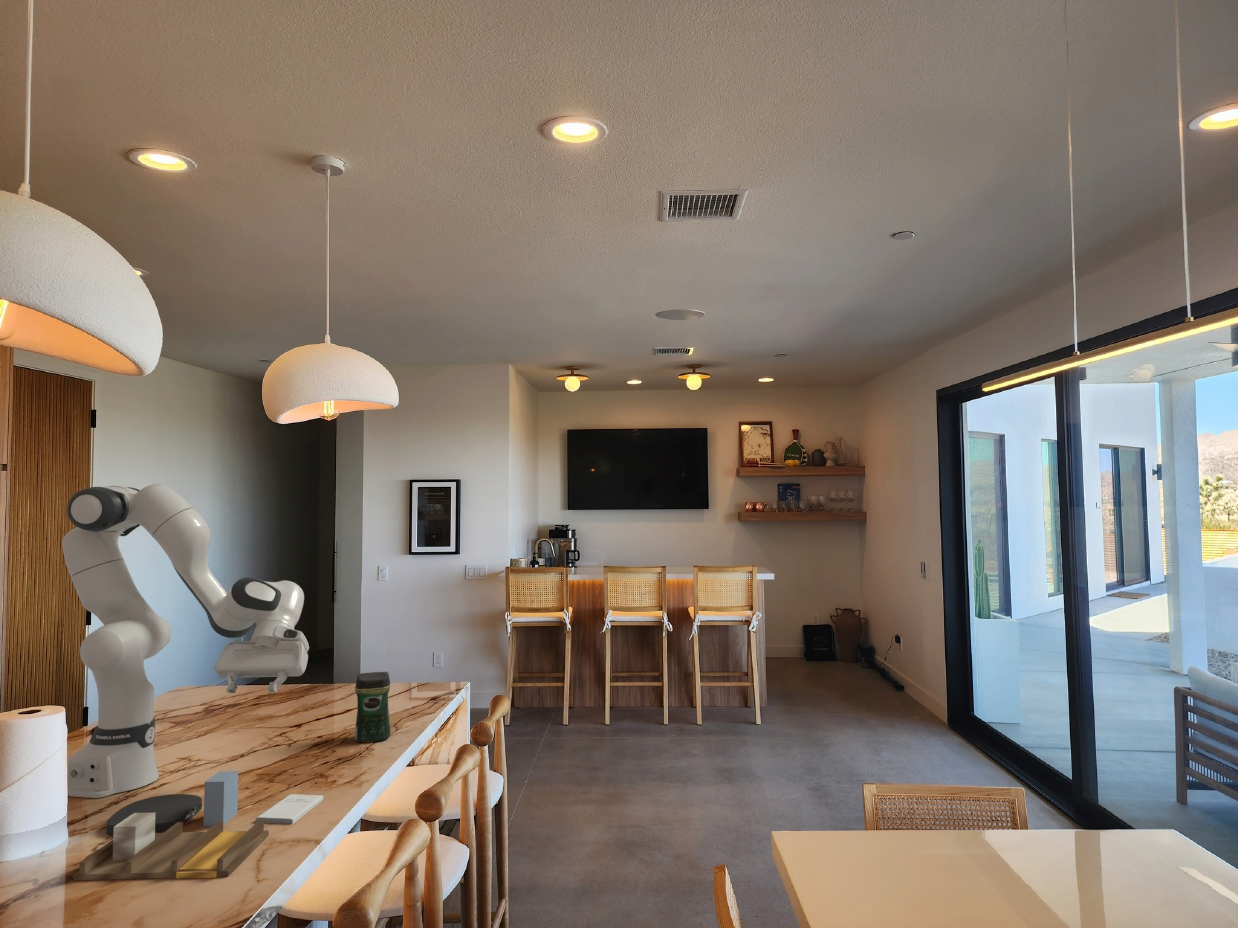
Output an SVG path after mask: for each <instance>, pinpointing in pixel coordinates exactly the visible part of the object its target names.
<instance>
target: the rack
mask: <svg viewBox="0 0 1238 928" xmlns="http://www.w3.org/2000/svg"><path fill="white" fill-rule="evenodd" d="M264 824H265V823H264V820H259V821H258V822H255V823H254V825H252V826H251V827H250V828H249V829H248V830H232V831H231V830H230V831H229V830H228V831H227V830H226V831H225V830H224V826H223V821H218V822H217V823H216V824H215V825H213V826H210V828H208V830H206V831H187V832H185V831H183V827H184V824H183V822H177V823H176V824H175V825H173V826H172V827H171V828H169V829H168V830H167V831H165V832H164V833H155V813H134V814H132V815H131V816H129V817H128V818H126V819H125V820H123V821H122V822H120V823H119V824H117V825H116V826H114V832H113V835H112V836H113V838H112V840H111V841H109V842H107V844H105V845H103V846H102V847H100V848H99V849H97V850H95V852H93V853H92V854H90V855H89V856H88V857H86V858H85V859H83V860H81V861H80V862H79V870H78V871H77V872H75V873H74V874H73V875H72V876H73V878H72V879H73V881H101V880H103V881H104V880H106V881H108V880H109V881H110V880H139V879H141V880H144V879H176V880H177V879H178V880H179V879H183V880H184V879H216V878H218V877H219V878H221V877H222V878H224V877H225V878H226V877H228V878H229V876H230V875H232V873H233V872H234V871H235V870H236V869H237V868H238V867H239V866H240V865H241V864H242V863H243V862H244V861H245V860H246V859H248V857H249V856H250V855H251V854H253V852H254V851H255V850H256V849H257V848H258V847H259V846H260V845H261V844H262V843H263V842H264V841H265V840H266V839H267V838H268V837H269V835H270V833H269V831H270V830H269V829H268V830H267V829H266V830H264V828H265V825H264Z"/></svg>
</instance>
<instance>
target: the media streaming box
mask: <svg viewBox="0 0 1238 928" xmlns="http://www.w3.org/2000/svg"><path fill="white" fill-rule="evenodd" d="M202 809H203V798H202V797H201V796H199V795H197V794H196V795H195V794H185V793H179V794H177V793H173V794H163V795H157V796H151V797H147V798H142V799H139V800H136V801H133V802H130V803H129V804H126V805H125V806H123V807H122V808H120V809H118V810H117V811H116V812H114V813H113V814H112V815H111V816H110V817H109V818H108V819H107V821H106V834H107V835H109V836H113V832H114V826H116V825H117V824H119V823H120V822H122V821H123V820H125V819H126V818H128V817H129V816H131V815H132V814H134V813H155V833H164V832H165V831H167V830H168V829H169V828H171V827H172V826H173V825H175V824H176V823H177V822H183V825H184V824H186V823H187V822H188V821H190V820H191V819H192V818H194V817H195V816H196V815H197V814H198V813H199V812H200V811H201V810H202Z"/></svg>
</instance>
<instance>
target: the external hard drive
mask: <svg viewBox="0 0 1238 928" xmlns="http://www.w3.org/2000/svg"><path fill="white" fill-rule="evenodd" d="M322 801H324V795H320V794H319V795H318V794H317V795H316V794H298V793H297V794H295V793H293V794H292V793H290V794H289V795H287V796H285V798H283V799H282V800H280V801H279V802H276V803H275V804H274V805H273V806H271V807H270V808H268V809H266V811H264V812H263V813H261V814H260V815H258V816H256V818H255V823H257V822H258V821H259V820H264V824H284V825H293V824H295V822H297V821H298V820H299V819H301V818H302V817H304V816H305V815H306V814H308V813H309V811H311V810H312V809H313V808H315V807H316V806H317V805H319V804H320V803H321V802H322Z"/></svg>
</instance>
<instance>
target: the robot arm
mask: <svg viewBox="0 0 1238 928" xmlns="http://www.w3.org/2000/svg"><path fill="white" fill-rule="evenodd" d="M66 513H67V518H68V519H69V521H70V523H72V524H73V525H74V526H75V527H74V528H73V529H71V530H70V531H68V532H67V533H66V534H65V535H64V537H63V538H62V541H61V544H62V553H63V556H64V560H65V561H64V562H65V565H66V568H67V571H68V573H69V577H70V579H71V582H72V584H73V586H74V589H75V590H76V593H77V596H78V597H79V600H80V603H81V606H82V607H83V608H84V609H85V610H86V611H88V612H90V613H91V614H93V615H94V616H95V617H97V618H98V620H99V621H100V622H101V624H102V626H100V627H98V628H97V629H95V630H94V631H92V632H91V633H90V634H88V635H87V636H86V637H85V638H84V639H83V640H82V643H81V645H80V649H79V656H80V660H81V662H82V664H84V666H85V667H86V668H88V669H90V671H91V673H92V676H93V678H94V681H95V684H96V689H97V695H98V702H97V704H98V705H97V706H98V709H97V710H98V711H97V713H98V714H97V717H98V718H97V725H95V727H92V728H91V729H89V730H87V731H85V733H86V734H85V737H86V738H87V737H88V736H91V737H90V738H89V741H88V743H87V744H85V745H84V746H83V747H81V748H80V749H79V750H77V751H76V752H75V753H74V754H72V755H71V756H69V758H67V759H68V795H69V796H68V797H74V798H75V797H77V798H90V799H91V798H92V799H94V798H95V799H100V798H105V797H108V796H111V795H114V794H118V793H122V792H127V791H132V790H135V789H139V788H142V787H145V786H147V785H149V784H151V783H153V782H155V781H157V780H158V779H159V777H160V773H159V771H158V766H157V762H156V756H155V748H154V747H155V746H154V745H155V744H154V742H155V735H156V719H155V717H154V702H155V701H154V700H155V688H154V687H155V686H154V685H153V684H152V683H151V682H150V681H149V680H148V677H147V675H146V674H147V673H146V671H145V665H144V661H145V660H147V659H150V658H152V657H154V656H156V655H157V654H158V653H160V652H161V651H162V650H163V649H164V648H165V647H166V646H167V645H168V644H169V642H170V641H171V637H172V628H171V625H170V623H169V622H168V621H167V620H166V619H165V618H163V617H162V616H160V615H159V614H157V613H156V612H155V611H154V609H153V608H152V607H151V606H150V605H149V602H147V601H146V599H145V598H144V597H143V596H142V594H141V593H140V591H139V590H138V588H137V586H136V585H135V582H134V579H133V577H132V575H131V574H130V573H131V572H130V571H129V569H128V566H127V564H126V561H125V560H124V557H123V554H122V552H121V550H120V547H119V538H120V537H126V536H128V535H129V534H130V533H132V532H133V531H134V530H136V529H138V528H139V527H140V526H141V527H142V528H144V529H145V531H146V532H148V534H149V535H150V536H151V537H152V538H153V539H154V540H155V541H156V542H157V544H159V546H160V548H162V550H163V551H164V552H165V554H166V555H167V557H168V558H169V560H170V561H171V564H172V566H173V568H174V570H175V572H176V573H177V575H178V576H179V578H180V579H181V581H182V583H184V585H185V587H186V588H187V589H188V590H189V591H190V592H191V594H192V595H193V597H194V598H195V599H196V601H197V602H198V603H199V604H200V606H201V607H202V609H203V610H204V612H205V613H206V616H207V619H208V622H209V625H210V627H211V628H212V630H213V631H214V632H215V633H216V634H218V635H219V636H222V637H225V638H229V639H236V638H241V637H244V636H246V635H247V634H249V632H251V629H252V628H253V627H254V625H255V624H256V626H255V628H254V630H253V634H252V635H251V638H250V640H233V641H232V642H231V643H228V644H226V645H225V646H224V648H223V650H222V652H221V654H220V656H219V657H218V659H217V661H216V663H215V665H214V671H215V673H216V675H217V676H218V677H219V678H221V679H227V686H226V688H225V690H226V692H227V694H235V693H236V691H237V689H238V686H237V684H236V682H235V681H237V679H238V678H274V677H276V678H275V680H273V681H270V682H269V685H268V687H267V691H268V692H269V693H277V692H278V690H279V687H280V686H281V685H282V684H283V683H285V681H287V678H288V677H301V676H302V675H303V674H304V673H305V671H306V669H307V665H308V662H309V661H308V660H309V653H308V652H309V649H310V646H309V642H308V640H307V638H306V636H305V635H304V633H303V631H301V630H297V629H295V626H296V625H297V624H298V622H299V620H300V617H301V614H302V611H303V607H304V604H305V603H304V601H305V593H304V591H303V589H302V588H301V587H300V585H299V584H297V583H296V582H295V581H294V582H293V581H290V580H285V579H284V580H279V581H265V580H262V579H260V578H257V577H252V576H251V577H249V576H248V577H242V578H240V579H238V580H237V581H235V583H234V584H233V585H232V586H231V587H230V588H229V590H228V591H226V590H225V588H224V587H223V586H222V584H221V583H220V582H219V581H218V580H217V578H216V576H215V575H214V574H213V573H212V571H211V570H210V569H211V568H210V567H209V563H208V552H209V551H208V550H209V544H210V540H211V530H210V527H209V525H208V524H207V521H206V519H204V517H203V516H202V515H201V514H200V513H199V512H198V510H196V508H194V506H193V505H191V504H190V503H189V502H188V501H187V500H186V499H185V498H184V497H183V496H182V495H181V494H180V493H178V492H177V491H176V490H174V489H172V487H169V485H166V484H164V483H153V484H149V485H147V486H144V487H143V488H141V489H138V488H136V487H132V486H131V487H130V486H128V487H126V486H120V485H107V486H90V487H87V488H83V489H80V490H79V491H77V492H75V494H73V495H72V496H71V497H70V499H69V500H68V503H67V507H66Z"/></svg>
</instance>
